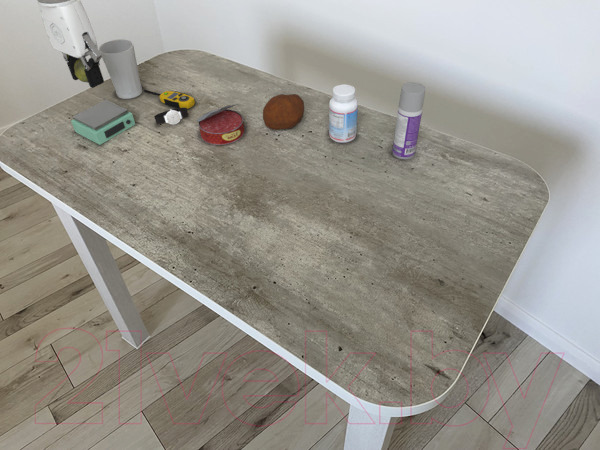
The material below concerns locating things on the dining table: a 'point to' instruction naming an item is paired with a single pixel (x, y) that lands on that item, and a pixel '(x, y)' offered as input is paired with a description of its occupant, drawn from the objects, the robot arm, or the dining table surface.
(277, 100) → the potato
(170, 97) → the yellow walkie talkie
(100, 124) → the scale pan
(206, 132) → the canned food
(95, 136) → the scale
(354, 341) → the dining table surface
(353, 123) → the pill bottle
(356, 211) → the dining table surface
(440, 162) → the dining table surface
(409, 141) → the container
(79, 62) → the lime
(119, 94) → the cup
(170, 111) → the watch
